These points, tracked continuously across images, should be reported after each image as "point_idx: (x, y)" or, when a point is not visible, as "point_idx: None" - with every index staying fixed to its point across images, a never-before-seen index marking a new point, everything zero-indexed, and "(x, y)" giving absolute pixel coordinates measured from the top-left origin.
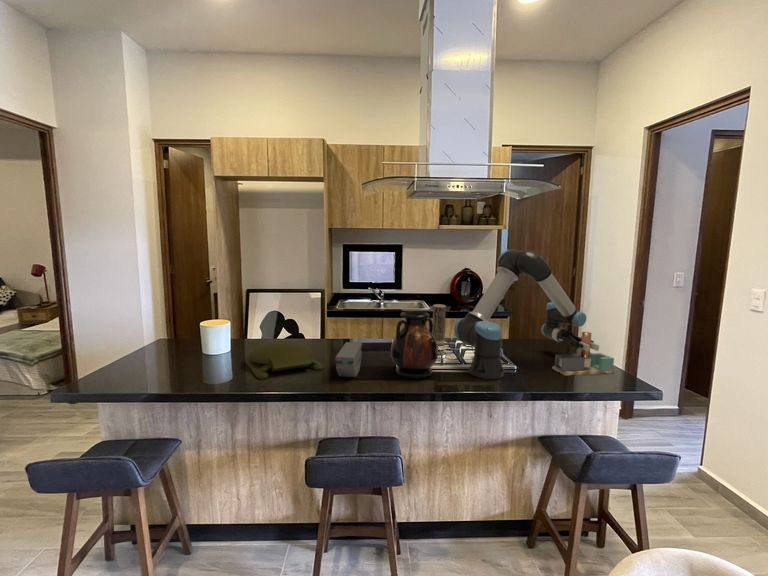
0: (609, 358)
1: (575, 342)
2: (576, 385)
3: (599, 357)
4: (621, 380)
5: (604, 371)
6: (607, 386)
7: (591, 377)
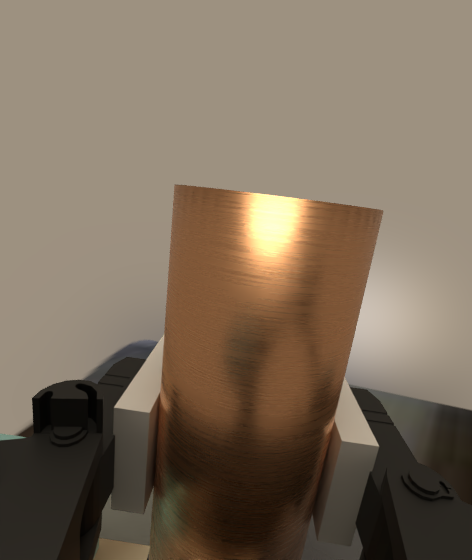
0: (16, 438)
1: (464, 551)
2: (413, 440)
3: None
4: None
5: None
6: None
7: None
